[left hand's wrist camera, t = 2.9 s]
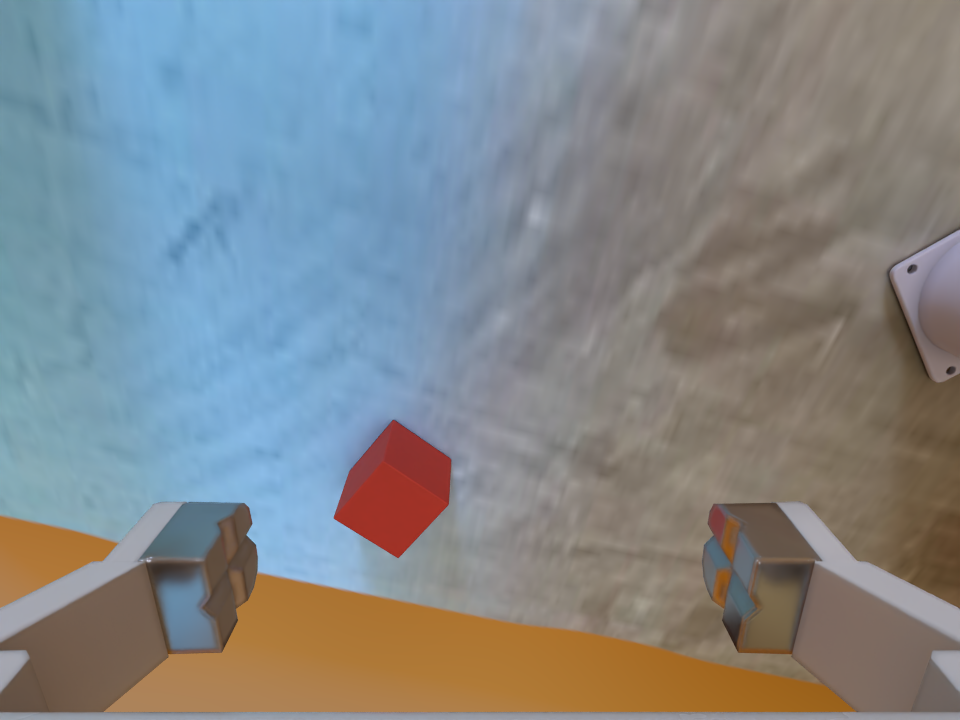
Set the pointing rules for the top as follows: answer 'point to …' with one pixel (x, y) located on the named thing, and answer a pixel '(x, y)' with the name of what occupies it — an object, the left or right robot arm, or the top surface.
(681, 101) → the top surface
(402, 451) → the block
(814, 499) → the top surface
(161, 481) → the top surface
